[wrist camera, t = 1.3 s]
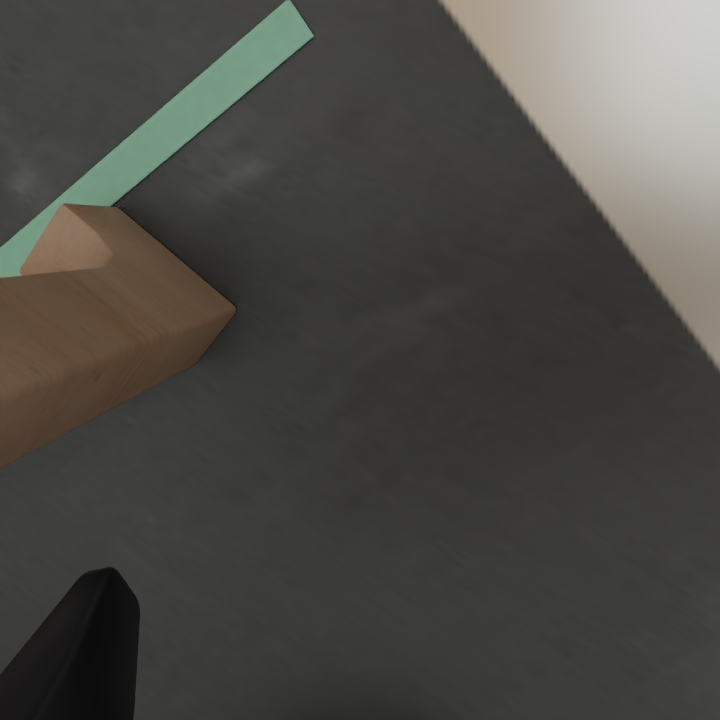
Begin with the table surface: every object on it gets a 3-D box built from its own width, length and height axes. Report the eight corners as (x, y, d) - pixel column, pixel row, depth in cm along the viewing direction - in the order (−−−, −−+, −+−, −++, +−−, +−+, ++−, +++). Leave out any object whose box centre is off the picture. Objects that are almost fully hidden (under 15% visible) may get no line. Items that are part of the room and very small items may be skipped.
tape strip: (-68, 355, 27) (-70, 356, 27) (-90, 327, 27) (-92, 327, 27) (314, 36, 22) (313, 36, 22) (289, -1, 22) (288, -3, 22)
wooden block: (239, 308, 24) (-58, 421, 10) (195, 366, 25) (-140, 548, 11) (117, 204, 24) (-373, 164, 10) (76, 266, 25) (-432, 315, 10)
